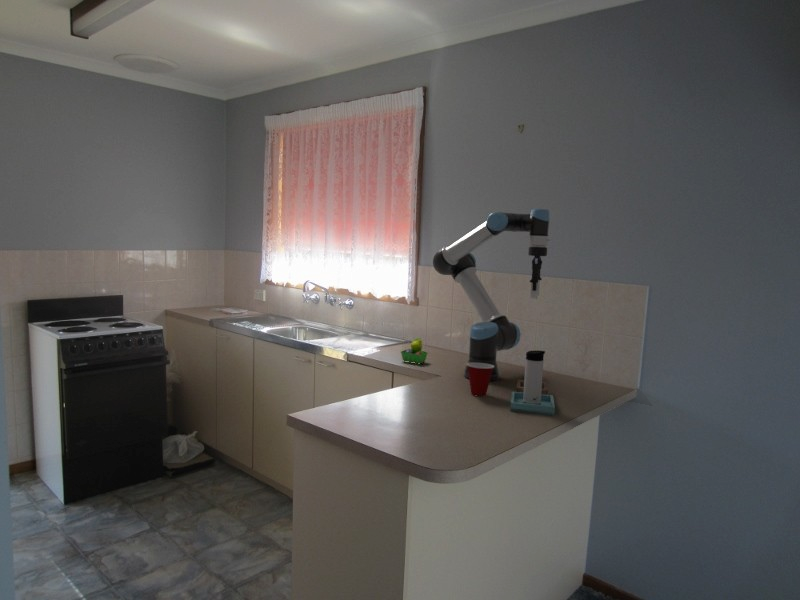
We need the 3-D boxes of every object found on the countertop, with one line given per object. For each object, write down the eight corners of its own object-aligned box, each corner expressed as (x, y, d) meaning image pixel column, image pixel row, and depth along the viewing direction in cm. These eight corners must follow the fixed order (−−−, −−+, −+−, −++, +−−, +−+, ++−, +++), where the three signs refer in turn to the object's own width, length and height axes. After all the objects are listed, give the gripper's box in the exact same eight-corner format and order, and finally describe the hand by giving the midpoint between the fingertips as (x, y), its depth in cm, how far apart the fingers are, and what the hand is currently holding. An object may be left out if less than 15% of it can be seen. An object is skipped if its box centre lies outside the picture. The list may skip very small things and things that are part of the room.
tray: (510, 411, 199) (510, 402, 199) (511, 399, 214) (511, 391, 213) (554, 415, 196) (554, 407, 195) (552, 403, 210) (552, 395, 210)
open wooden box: (516, 397, 216) (516, 387, 215) (516, 389, 227) (517, 380, 227) (547, 400, 213) (548, 390, 213) (546, 392, 225) (546, 382, 224)
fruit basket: (399, 362, 268) (400, 338, 266) (409, 358, 275) (409, 336, 274) (420, 365, 262) (421, 341, 260) (429, 362, 269) (430, 339, 268)
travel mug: (538, 408, 200) (541, 353, 198) (520, 404, 204) (523, 350, 201) (543, 403, 206) (547, 350, 203) (526, 400, 209) (529, 347, 207)
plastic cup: (496, 392, 221) (497, 363, 220) (488, 399, 212) (490, 368, 210) (469, 388, 226) (471, 359, 224) (460, 395, 216) (462, 364, 215)
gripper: (546, 247, 223) (542, 300, 226) (548, 246, 247) (545, 294, 249) (526, 246, 225) (523, 299, 228) (530, 245, 249) (527, 293, 251)
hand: (534, 296), depth 239 cm, fingers open, 13 cm apart
